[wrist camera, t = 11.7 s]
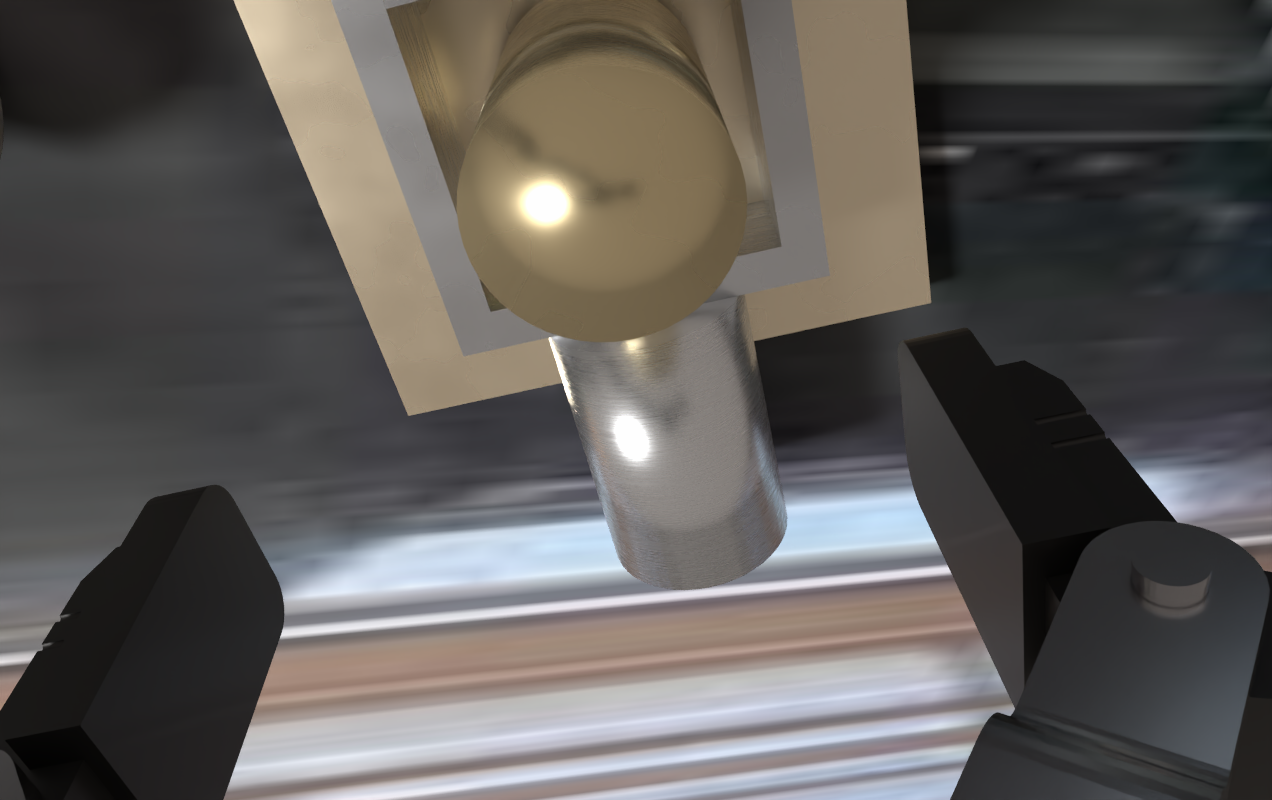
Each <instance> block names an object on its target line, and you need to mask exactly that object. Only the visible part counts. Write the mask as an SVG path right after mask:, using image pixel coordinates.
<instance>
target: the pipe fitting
mask: <svg viewBox="0 0 1272 800" xmlns="http://www.w3.org/2000/svg"><path fill="white" fill-rule="evenodd" d="M3 133H4V123H3V111H2V103H1V98H0V158H1V154H2V148H3Z"/></svg>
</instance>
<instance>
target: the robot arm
mask: <svg viewBox="0 0 1272 800" xmlns="http://www.w3.org/2000/svg"><path fill="white" fill-rule="evenodd" d="M898 366H899V377H900V389H901V400H902V411H903V422H904V433H905V444H906V454H907V461H908V467H909V471H910V476H911V480H912V484H913V487H914V491H915V494H916V497H917V500H918V502H919V505H920V507H921V509H922V511H923V513H924V516H925V518H926V520H927V522H928V524H929V526H930V528H931V531H932V533H933V535H934V537H935V539H936V541H937V543H938V545H939V548H940V550H941V552H942V554H943V556H944V558H945V560H946V562H947V565H948V567H949V569H950V571H951V573H952V575H953V577H954V579H955V582H956V584H957V586H958V588H959V590H960V592H961V594H962V597H963V599H964V601H965V603H966V605H967V607H968V609H969V611H970V614H971V616H972V618H973V620H974V622H975V624H976V626H977V628H978V631H979V633H980V635H981V637H982V639H983V641H984V643H985V645H986V648H987V650H988V652H989V654H990V656H991V658H992V660H993V662H994V665H995V667H996V669H997V671H998V673H999V675H1000V677H1001V680H1002V682H1003V684H1004V686H1005V688H1006V690H1007V692H1008V694H1009V697H1010V699H1011V701H1012V703H1013V705H1014V707H1015V710H1014V712H1013V714H1012V715H1011V716H1007V715H1004V714H1001V713H998V712H997V713H995V714H993V715H992V716H991V717H990V718H989V719H988V721H987V722H986V724H985V725H984V727H983V729H982V730H981V732H980V734H979V736H978V738H977V741H976V743H975V745H974V747H973V750H972V752H971V754H970V756H969V759H968V761H967V763H966V765H965V768H964V770H963V772H962V774H961V777H960V779H959V781H958V783H957V786H956V788H955V790H954V792H953V795H952V797H951V799H950V800H1272V572H1268V571H1263V569H1262V567H1261V566H1260V564H1259V563H1258V562H1257V561H1256V559H1255V558H1254V557H1253V556H1252V555H1251V554H1249V553H1248V552H1247V551H1246V550H1245V549H1244V548H1242V547H1241V546H1239V545H1238V544H1236V543H1235V542H1233V541H1232V540H1230V539H1228V538H1226V537H1224V536H1222V535H1220V534H1218V533H1215V532H1212V531H1210V530H1207V529H1204V528H1201V527H1197V526H1193V525H1189V524H1183V523H1177V521H1176V520H1175V519H1174V518H1173V516H1172V515H1171V514H1170V513H1169V511H1168V510H1167V509H1166V508H1165V507H1164V505H1163V504H1162V503H1161V502H1160V500H1159V499H1158V498H1157V497H1156V495H1155V494H1154V493H1153V492H1152V490H1151V489H1150V488H1149V487H1148V485H1147V484H1146V483H1145V482H1144V480H1143V479H1142V478H1141V477H1140V476H1139V474H1138V473H1137V472H1136V471H1135V469H1134V468H1133V467H1132V466H1131V464H1130V463H1129V462H1128V461H1127V459H1126V458H1125V457H1124V456H1123V454H1122V453H1121V452H1120V451H1119V449H1118V448H1117V447H1116V446H1115V445H1114V443H1113V442H1112V441H1111V440H1110V438H1107V439H1106V437H1105V433H1104V431H1103V430H1102V428H1101V427H1100V426H1099V425H1098V423H1097V422H1096V421H1095V420H1094V418H1093V417H1092V416H1091V415H1090V414H1089V415H1087V413H1086V409H1085V407H1084V406H1083V405H1082V404H1081V402H1080V401H1079V400H1078V399H1077V397H1076V396H1075V395H1074V394H1073V392H1072V391H1071V390H1070V389H1069V387H1068V386H1067V385H1066V384H1065V382H1064V381H1063V380H1061V379H1059V378H1057V377H1055V376H1053V375H1051V374H1049V373H1047V372H1046V371H1044V370H1042V369H1040V368H1038V367H1036V366H1034V365H1032V364H1030V363H1028V362H1027V361H1025V360H1024V361H1019V362H1014V363H1009V364H1005V365H1000V366H995V364H994V363H993V362H992V360H991V359H990V357H989V356H988V355H987V353H986V352H985V350H984V349H983V348H982V346H981V345H980V343H979V342H978V341H977V339H976V338H975V336H974V335H973V333H972V332H971V331H970V330H969V329H968V328H961V329H956V330H952V331H947V332H942V333H937V334H933V335H928V336H923V337H918V338H914V339H909V340H904V341H901V342H900V343H899V346H898ZM60 618H61V621H60V622H55V624H54V625H53V627H52V629H51V630H50V632H49V634H48V635H47V637H46V638H45V640H44V642H43V643H42V645H43V650H42V651H37V653H36V654H35V656H34V658H33V659H32V661H31V662H30V664H29V666H28V667H27V669H26V670H25V672H24V674H23V675H22V677H21V679H20V680H19V682H18V683H17V685H16V687H15V688H14V690H13V691H12V693H11V695H10V696H9V698H8V699H7V701H6V703H5V704H4V706H3V707H2V709H1V711H0V800H223V799H224V796H225V793H226V790H227V787H228V785H229V782H230V779H231V776H232V773H233V770H234V767H235V765H236V762H237V759H238V756H239V753H240V750H241V747H242V745H243V742H244V739H245V736H246V733H247V730H248V727H249V724H250V722H251V719H252V716H253V713H254V710H255V707H256V704H257V702H258V699H259V696H260V693H261V690H262V687H263V684H264V682H265V679H266V676H267V673H268V670H269V667H270V664H271V662H272V659H273V656H274V653H275V650H276V647H277V644H278V641H279V639H280V636H281V633H282V629H283V624H284V602H283V596H282V592H281V588H280V585H279V582H278V580H277V578H276V576H275V574H274V572H273V570H272V569H271V567H270V565H269V563H268V561H267V559H266V558H265V556H264V554H263V552H262V550H261V548H260V547H259V545H258V543H257V541H256V539H255V538H254V536H253V534H252V532H251V530H250V528H249V527H248V525H247V523H246V521H245V519H244V517H243V516H242V514H241V512H240V510H239V508H238V506H237V505H236V503H235V501H234V499H233V498H232V496H231V495H230V494H229V492H228V491H227V490H225V489H224V488H223V487H221V486H219V485H210V486H206V487H201V488H196V489H191V490H187V491H182V492H177V493H172V494H168V495H163V496H158V497H155V498H152V499H151V500H149V501H148V502H147V504H146V505H145V506H144V508H143V510H142V511H141V513H140V515H139V516H138V518H137V520H136V521H135V523H134V525H133V526H132V528H131V530H130V531H129V533H128V535H127V536H126V538H125V540H124V541H123V543H122V545H121V546H120V547H117V548H115V549H114V550H113V551H112V552H111V553H110V554H109V555H108V556H107V557H106V558H105V559H104V560H103V561H102V562H101V563H100V564H99V565H98V566H96V567H95V568H94V569H93V570H92V571H91V572H90V573H89V574H88V575H87V576H86V577H85V578H84V579H83V580H82V581H81V582H80V584H79V585H78V587H77V589H76V590H75V592H74V593H73V595H72V597H71V598H70V600H69V601H68V603H67V605H66V606H65V608H64V609H63V611H62V613H61V614H60Z"/></svg>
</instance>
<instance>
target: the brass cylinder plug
mask: <svg viewBox="0 0 1272 800" xmlns="http://www.w3.org/2000/svg"><path fill="white" fill-rule="evenodd" d="M457 217H458V226H459V231H460V234H461V238H462V242H463V246H464V248H465V251H466V253H467V256H468V258H469V260H470V263H471V264H472V266H473V268H474V270H475V271H476V273H477V275H478V277H479V278H480V279H481V281H482V282H483V283H484V285H485V286H486V287H487V289H488V290H489V291H490V292H491V293H492V294H493V295H494V296H495V297H496V299H497V300H498V301H499V302H500V303H501V304H502V305H504V306H505V307H506V308H507V309H509V310H510V311H511V312H512V313H514V314H515V315H516V316H518V317H520V318H521V319H523V320H524V321H526V322H528V323H529V324H531V325H533V326H535V327H537V328H540V329H542V330H544V331H546V332H549V333H552V334H555V335H558V336H561V337H564V338H569V339H574V340H579V341H588V342H618V341H625V340H632V339H636V338H640V337H644V336H647V335H651V334H653V333H656V332H658V331H661V330H663V329H666V328H668V327H670V326H672V325H673V324H675V323H677V322H679V321H681V320H683V319H684V318H685V317H687V316H688V315H690V314H691V313H692V312H694V311H695V310H696V309H698V308H699V307H700V306H701V305H702V304H703V303H704V302H705V301H706V300H707V299H708V298H710V296H711V295H712V294H713V293H714V292H715V290H716V289H717V288H718V287H719V286H720V285H721V283H722V282H723V280H724V278H725V277H726V275H727V274H728V272H729V271H730V269H731V267H732V265H733V263H734V261H735V259H736V256H737V254H738V252H739V249H740V246H741V242H742V239H743V236H744V230H745V225H746V219H747V192H746V182H745V178H744V174H743V170H742V166H741V163H740V160H739V158H738V155H737V153H736V150H735V147H734V145H733V142H732V140H731V137H730V135H729V132H728V130H727V127H726V124H725V122H724V119H723V117H722V114H721V112H720V109H719V107H718V104H717V101H716V99H715V96H714V94H713V91H712V89H711V86H710V84H709V81H708V78H707V76H706V73H705V71H704V68H703V66H702V63H701V61H700V58H699V55H698V53H697V50H696V48H695V45H694V43H693V41H692V39H691V38H690V36H689V34H688V32H687V31H686V29H685V28H684V27H683V25H682V24H681V23H680V21H679V20H678V19H677V18H676V17H675V16H674V15H673V14H672V13H671V12H670V11H669V10H668V9H667V8H666V7H664V6H663V5H662V4H661V3H659V2H658V1H657V0H542V1H541V2H539V3H538V4H536V5H535V6H534V7H533V8H532V9H531V10H530V11H528V12H527V13H526V14H525V15H524V17H523V18H522V19H521V20H520V21H519V22H518V24H517V25H516V26H515V28H514V30H513V31H512V33H511V34H510V36H509V38H508V40H507V42H506V44H505V46H504V48H503V51H502V54H501V57H500V59H499V62H498V65H497V68H496V71H495V74H494V76H493V79H492V82H491V85H490V88H489V90H488V93H487V96H486V99H485V102H484V104H483V107H482V110H481V113H480V116H479V119H478V121H477V124H476V127H475V130H474V133H473V135H472V138H471V141H470V144H469V147H468V150H467V152H466V155H465V158H464V162H463V165H462V168H461V171H460V176H459V182H458V188H457Z"/></svg>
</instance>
